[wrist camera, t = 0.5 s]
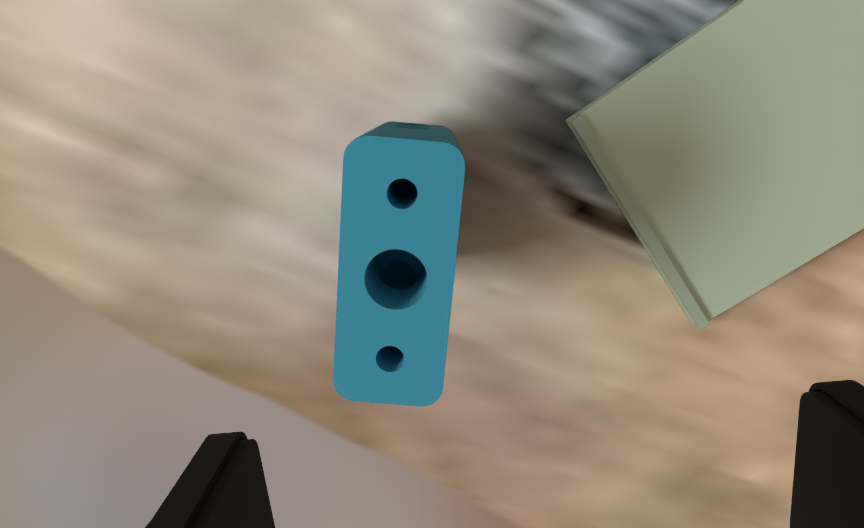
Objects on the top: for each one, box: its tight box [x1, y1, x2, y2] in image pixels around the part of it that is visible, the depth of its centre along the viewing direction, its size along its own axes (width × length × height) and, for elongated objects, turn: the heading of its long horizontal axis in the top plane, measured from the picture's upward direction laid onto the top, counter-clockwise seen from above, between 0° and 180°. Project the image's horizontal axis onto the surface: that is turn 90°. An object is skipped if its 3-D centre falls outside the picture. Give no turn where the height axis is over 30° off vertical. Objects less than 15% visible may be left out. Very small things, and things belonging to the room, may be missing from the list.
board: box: [565, 0, 864, 330], centre depth 42 cm, size 19×21×2 cm
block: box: [333, 122, 465, 406], centre depth 35 cm, size 12×5×20 cm, turn 175°
